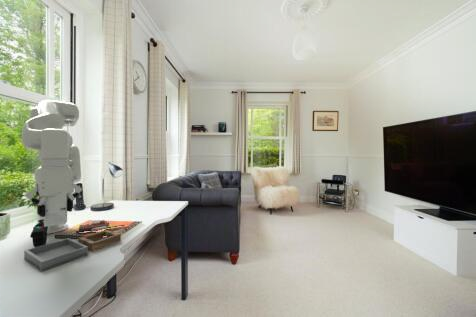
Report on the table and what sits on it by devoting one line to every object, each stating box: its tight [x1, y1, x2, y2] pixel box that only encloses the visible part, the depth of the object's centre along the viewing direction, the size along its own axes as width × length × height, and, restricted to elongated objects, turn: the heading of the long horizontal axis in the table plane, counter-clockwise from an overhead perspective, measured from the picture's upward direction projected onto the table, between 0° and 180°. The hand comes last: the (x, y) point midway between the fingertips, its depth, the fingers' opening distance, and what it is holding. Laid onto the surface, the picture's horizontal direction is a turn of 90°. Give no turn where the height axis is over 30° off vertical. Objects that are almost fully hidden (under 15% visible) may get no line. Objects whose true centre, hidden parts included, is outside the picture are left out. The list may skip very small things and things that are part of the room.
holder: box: [77, 229, 122, 253], centre depth 87 cm, size 11×11×3 cm
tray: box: [23, 237, 89, 272], centre depth 76 cm, size 16×13×3 cm
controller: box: [29, 219, 48, 248], centre depth 84 cm, size 4×12×10 cm, turn 36°
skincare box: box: [44, 190, 68, 227], centre depth 76 cm, size 6×4×12 cm
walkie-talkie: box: [75, 219, 125, 233], centre depth 104 cm, size 9×4×20 cm
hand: (56, 213), depth 76 cm, fingers closed on skincare box, 7 cm apart
